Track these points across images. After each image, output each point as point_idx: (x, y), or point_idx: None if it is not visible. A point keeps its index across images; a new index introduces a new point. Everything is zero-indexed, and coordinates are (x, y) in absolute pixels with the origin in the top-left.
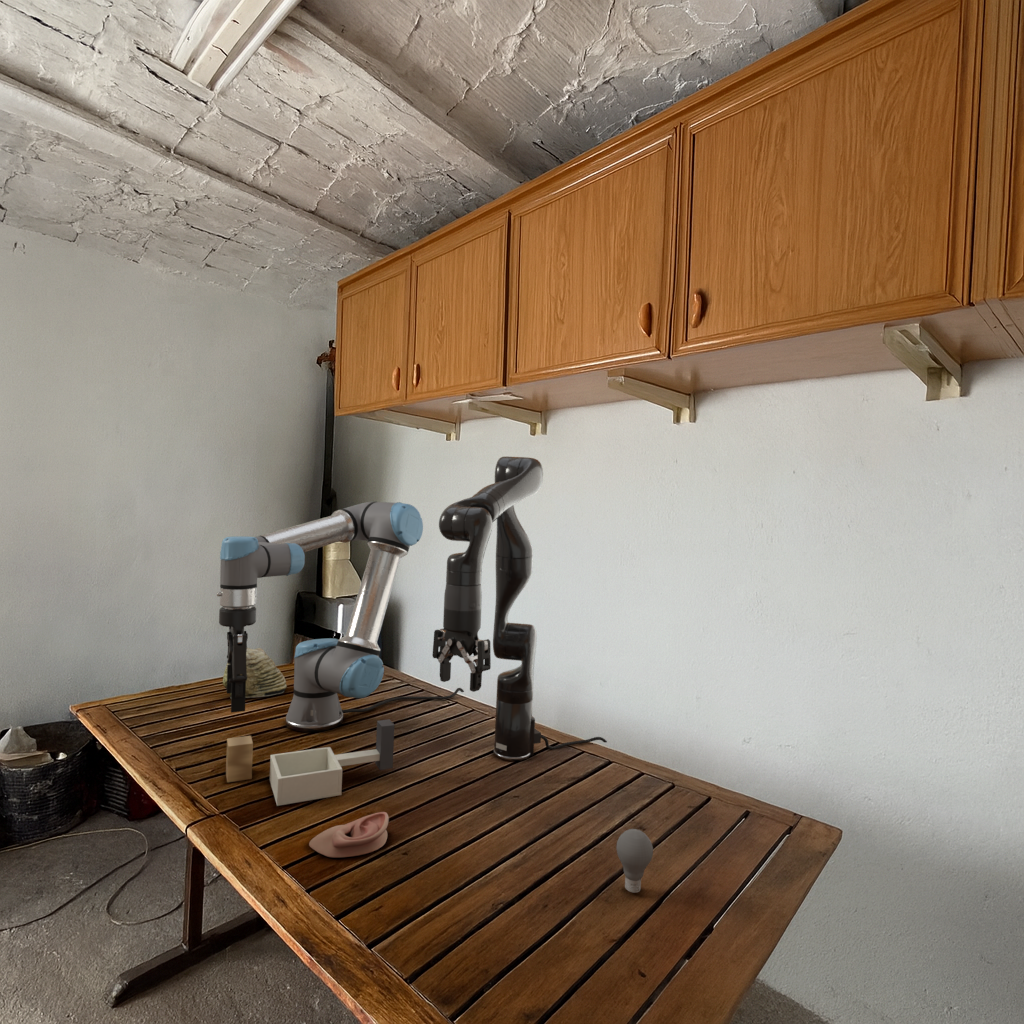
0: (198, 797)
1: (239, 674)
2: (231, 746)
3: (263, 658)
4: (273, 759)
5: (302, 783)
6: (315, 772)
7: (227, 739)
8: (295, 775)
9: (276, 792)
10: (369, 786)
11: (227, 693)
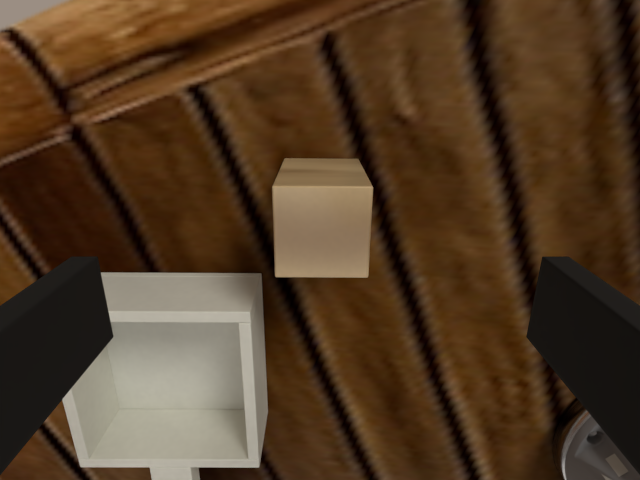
0: (201, 65)
1: (617, 440)
2: (273, 197)
3: None
4: (204, 316)
5: None
6: (67, 407)
7: (359, 187)
8: None
9: None
10: (147, 467)
11: (542, 260)
